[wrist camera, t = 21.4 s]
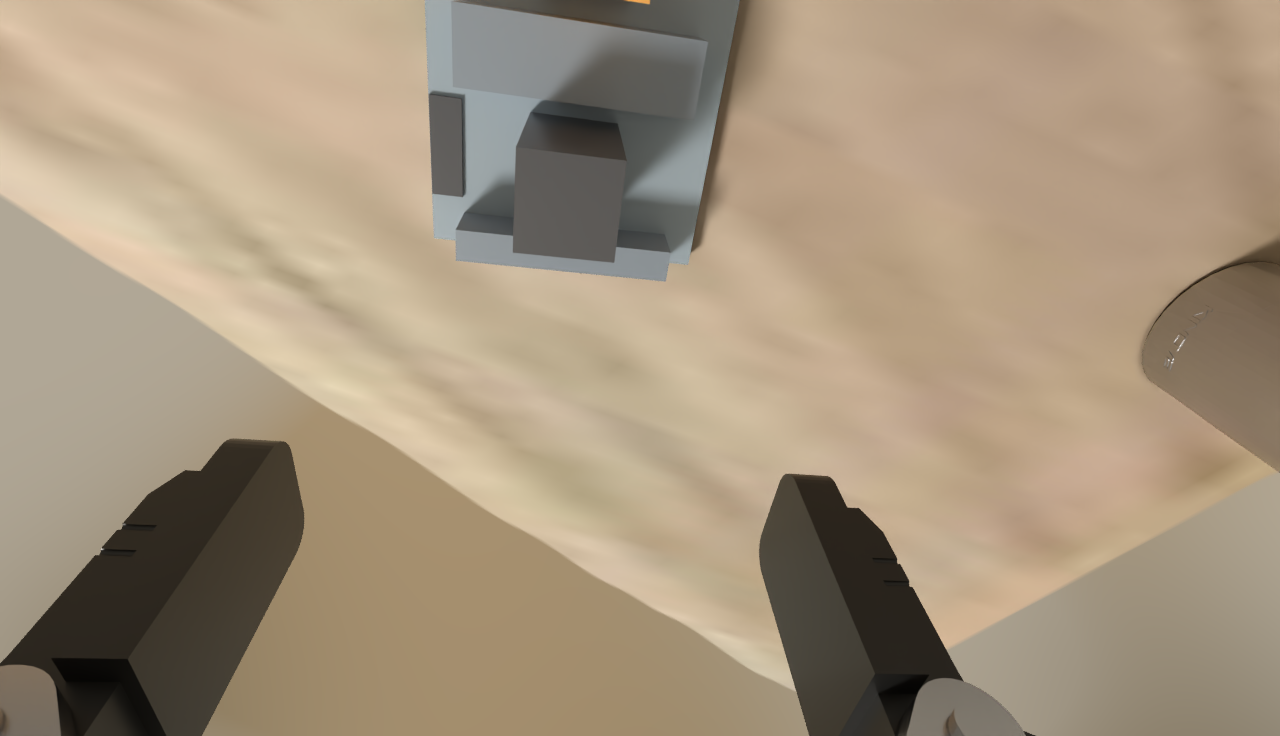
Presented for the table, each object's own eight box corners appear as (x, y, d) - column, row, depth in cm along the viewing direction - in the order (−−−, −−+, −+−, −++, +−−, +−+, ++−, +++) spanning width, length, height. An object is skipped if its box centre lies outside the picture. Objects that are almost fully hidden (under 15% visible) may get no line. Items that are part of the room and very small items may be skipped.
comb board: (768, -177, 24) (795, -200, 21) (685, 257, 33) (695, 284, 30) (421, -251, 22) (396, -288, 19) (438, 231, 31) (422, 257, 28)
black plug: (617, 123, 28) (626, 161, 22) (608, 208, 30) (614, 262, 24) (530, 111, 28) (515, 147, 22) (526, 198, 30) (512, 252, 24)
